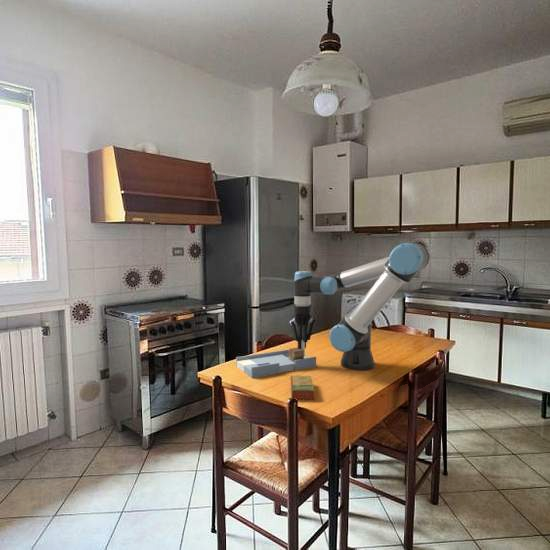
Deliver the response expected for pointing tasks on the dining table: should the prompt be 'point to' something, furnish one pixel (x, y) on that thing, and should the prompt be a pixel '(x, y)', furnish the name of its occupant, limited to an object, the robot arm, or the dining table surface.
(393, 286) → the robot arm
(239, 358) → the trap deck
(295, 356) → the block
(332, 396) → the dining table surface
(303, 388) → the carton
